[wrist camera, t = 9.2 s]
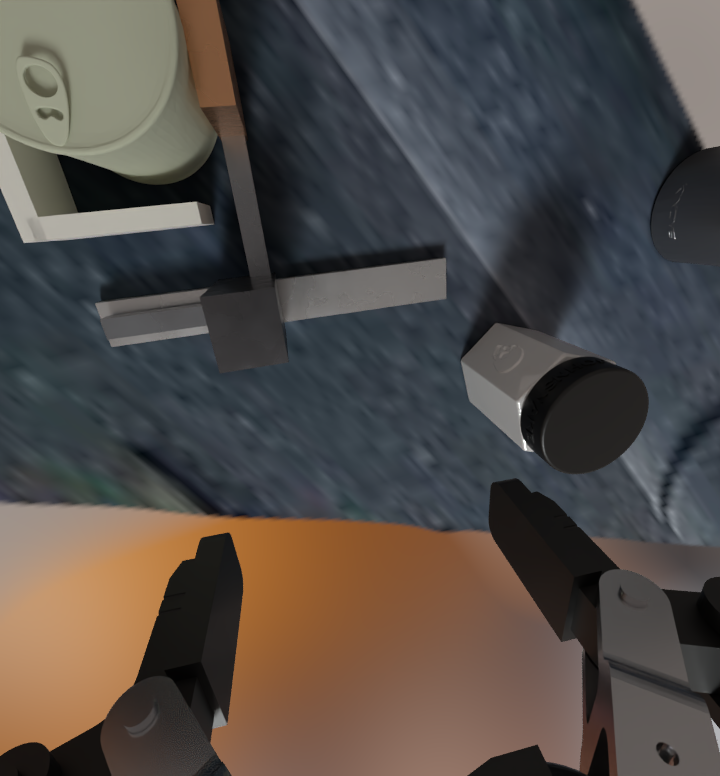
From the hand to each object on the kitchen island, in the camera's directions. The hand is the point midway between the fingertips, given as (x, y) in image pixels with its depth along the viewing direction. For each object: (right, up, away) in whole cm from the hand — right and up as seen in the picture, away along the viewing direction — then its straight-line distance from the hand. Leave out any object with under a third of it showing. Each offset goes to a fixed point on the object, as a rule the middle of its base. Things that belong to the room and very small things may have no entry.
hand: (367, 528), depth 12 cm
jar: (+13, +6, +25) cm, 29 cm away
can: (-14, +22, +12) cm, 29 cm away
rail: (-6, +11, +18) cm, 23 cm away
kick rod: (-13, +16, +14) cm, 25 cm away
